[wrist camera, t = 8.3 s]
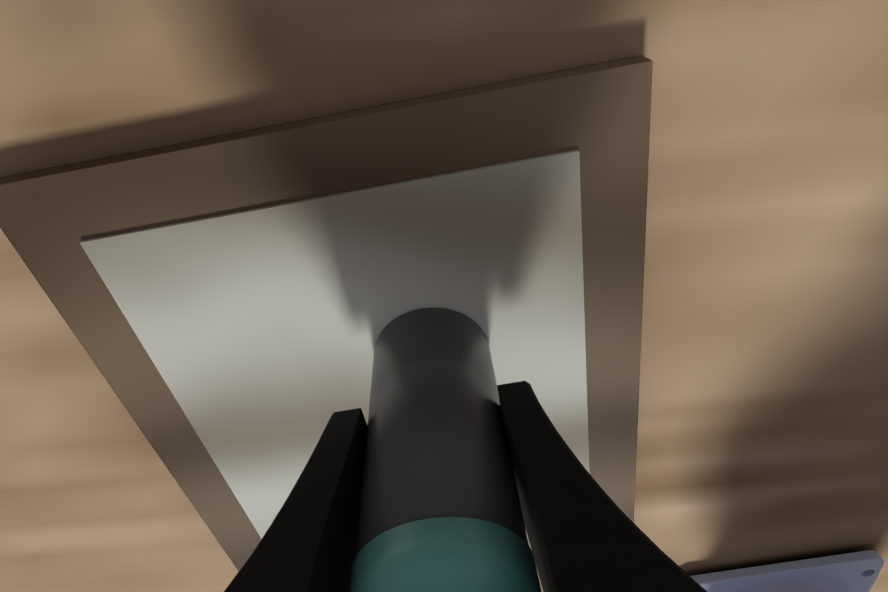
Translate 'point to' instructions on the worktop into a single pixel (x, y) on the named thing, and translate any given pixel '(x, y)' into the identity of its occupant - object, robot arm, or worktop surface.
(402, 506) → the marker
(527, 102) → the clipboard
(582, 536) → the robot arm
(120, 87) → the worktop surface
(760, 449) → the worktop surface
